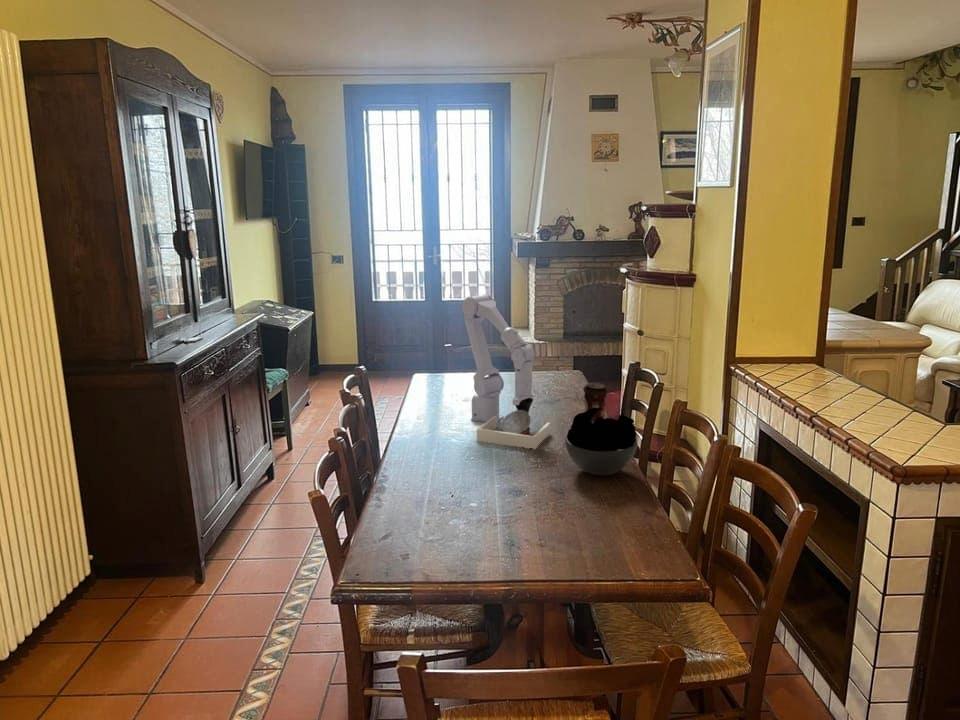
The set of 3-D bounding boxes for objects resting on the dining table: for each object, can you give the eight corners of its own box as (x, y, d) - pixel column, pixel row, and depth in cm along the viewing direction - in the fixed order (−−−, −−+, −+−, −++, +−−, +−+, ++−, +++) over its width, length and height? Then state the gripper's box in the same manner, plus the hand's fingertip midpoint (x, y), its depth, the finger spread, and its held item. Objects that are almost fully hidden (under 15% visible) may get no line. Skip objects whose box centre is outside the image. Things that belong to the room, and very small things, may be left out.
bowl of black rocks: (552, 465, 198) (553, 403, 193) (611, 455, 204) (613, 395, 200) (586, 491, 179) (588, 424, 175) (650, 480, 186) (653, 415, 182)
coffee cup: (578, 422, 235) (579, 386, 232) (586, 415, 242) (587, 380, 239) (602, 426, 231) (604, 389, 228) (610, 419, 238) (611, 383, 235)
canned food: (530, 451, 222) (539, 429, 216) (502, 452, 218) (511, 430, 212) (519, 426, 230) (528, 405, 224) (492, 427, 226) (500, 405, 220)
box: (476, 440, 218) (476, 429, 217) (494, 426, 231) (494, 415, 230) (535, 449, 210) (535, 437, 209) (550, 434, 223) (550, 422, 222)
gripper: (527, 387, 217) (526, 427, 220) (542, 376, 229) (541, 414, 233) (506, 385, 219) (506, 424, 223) (522, 374, 232) (522, 412, 235)
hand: (523, 419), depth 228 cm, fingers closed
